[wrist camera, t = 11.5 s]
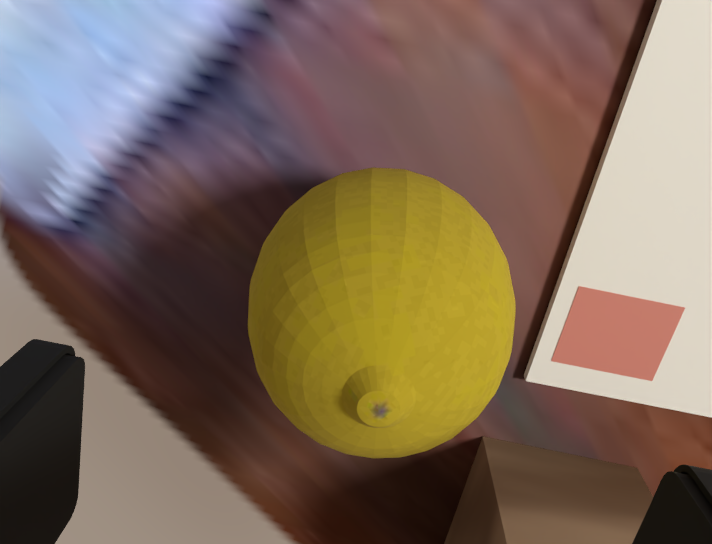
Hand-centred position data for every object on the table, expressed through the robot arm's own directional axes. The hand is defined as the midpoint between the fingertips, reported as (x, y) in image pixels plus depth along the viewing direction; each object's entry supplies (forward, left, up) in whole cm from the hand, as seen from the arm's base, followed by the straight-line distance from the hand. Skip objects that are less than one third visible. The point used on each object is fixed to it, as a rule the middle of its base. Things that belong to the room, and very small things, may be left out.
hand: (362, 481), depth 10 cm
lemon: (-1, 0, -9) cm, 9 cm away
